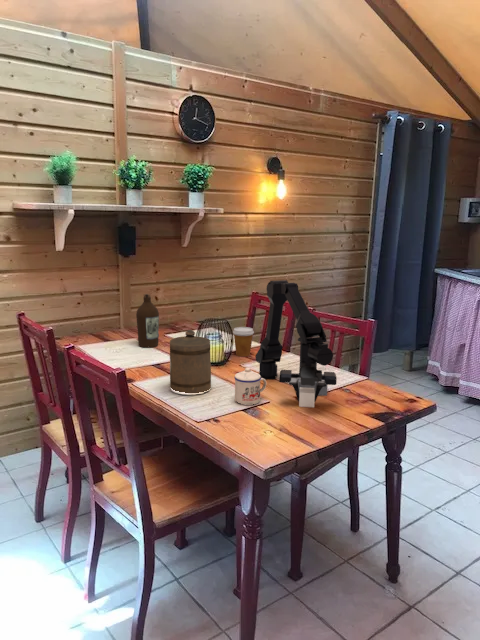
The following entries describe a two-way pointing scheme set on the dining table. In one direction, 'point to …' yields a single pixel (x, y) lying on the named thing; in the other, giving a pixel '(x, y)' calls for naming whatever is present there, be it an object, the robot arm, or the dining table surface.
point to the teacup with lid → (248, 387)
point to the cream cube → (306, 397)
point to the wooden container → (190, 363)
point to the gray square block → (322, 391)
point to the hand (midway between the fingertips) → (306, 401)
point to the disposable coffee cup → (243, 340)
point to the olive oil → (147, 323)
